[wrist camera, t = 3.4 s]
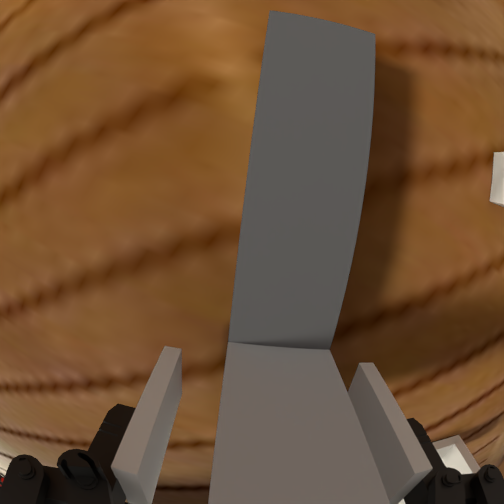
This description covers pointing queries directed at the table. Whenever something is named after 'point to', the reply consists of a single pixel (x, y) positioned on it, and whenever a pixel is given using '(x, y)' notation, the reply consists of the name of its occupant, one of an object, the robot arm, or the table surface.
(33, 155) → the table surface
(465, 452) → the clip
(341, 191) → the bar
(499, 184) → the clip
